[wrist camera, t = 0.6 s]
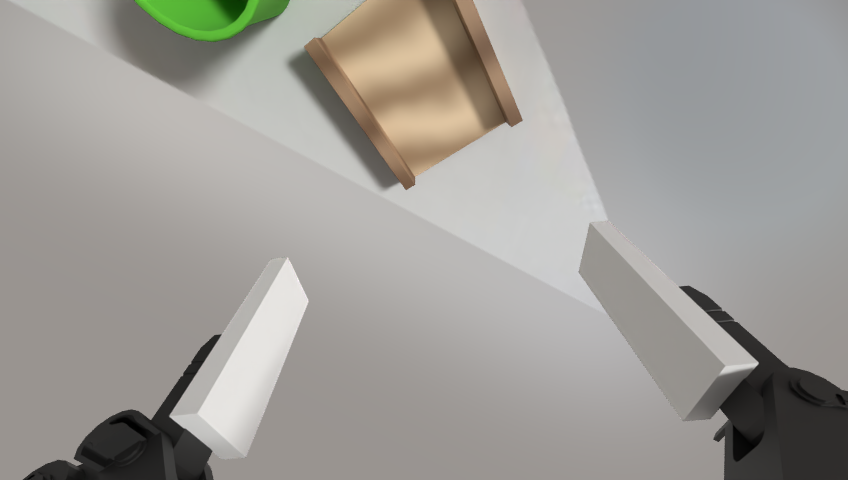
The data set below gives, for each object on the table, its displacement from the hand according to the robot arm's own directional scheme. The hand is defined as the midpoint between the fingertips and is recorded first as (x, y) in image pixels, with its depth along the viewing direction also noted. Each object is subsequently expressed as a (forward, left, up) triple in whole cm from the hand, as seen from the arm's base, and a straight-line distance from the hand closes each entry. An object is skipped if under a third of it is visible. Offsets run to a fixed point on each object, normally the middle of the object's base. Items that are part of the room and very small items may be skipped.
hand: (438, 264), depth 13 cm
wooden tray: (-5, +2, -24) cm, 24 cm away
